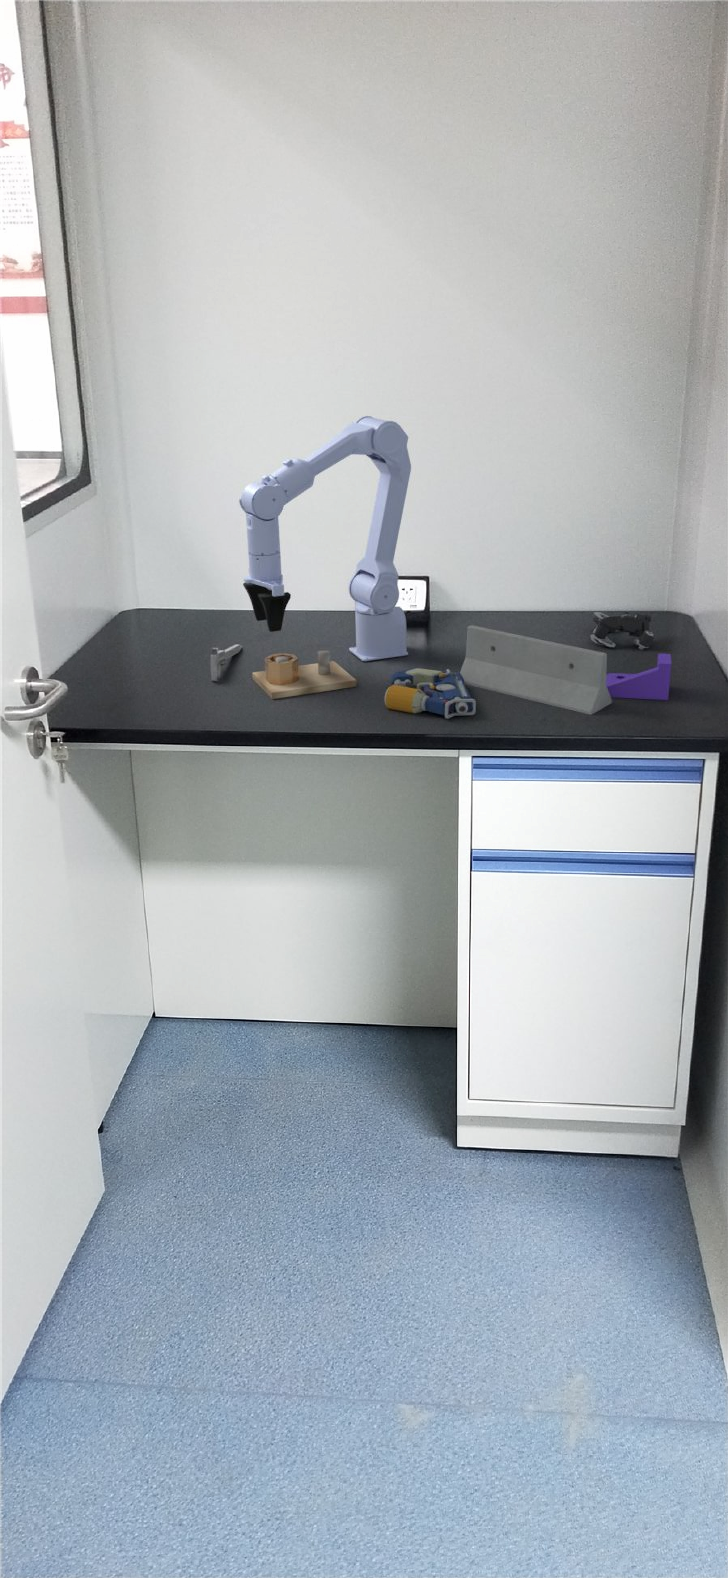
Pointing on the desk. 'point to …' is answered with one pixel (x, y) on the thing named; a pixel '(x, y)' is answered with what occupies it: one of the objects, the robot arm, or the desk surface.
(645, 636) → the bicycle component
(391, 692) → the toy blaster gun
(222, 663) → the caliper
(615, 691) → the bracket
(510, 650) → the barrier
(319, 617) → the desk surface
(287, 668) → the ring
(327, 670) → the wooden peg board
